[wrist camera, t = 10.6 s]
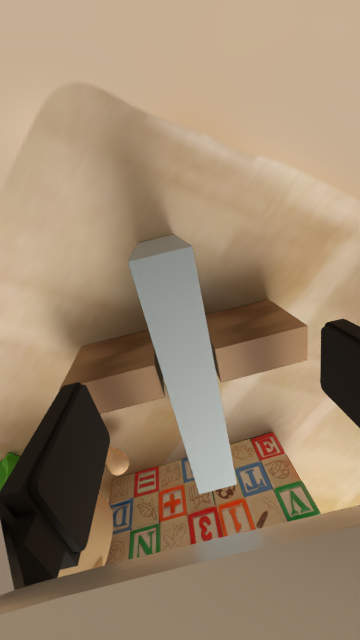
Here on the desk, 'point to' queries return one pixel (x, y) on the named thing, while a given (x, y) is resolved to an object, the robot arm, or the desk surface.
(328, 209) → the desk surface
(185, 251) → the blue board
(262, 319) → the brown wooden block
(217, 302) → the desk surface
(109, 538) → the kitten
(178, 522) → the stack of blocks
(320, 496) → the desk surface
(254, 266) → the desk surface
